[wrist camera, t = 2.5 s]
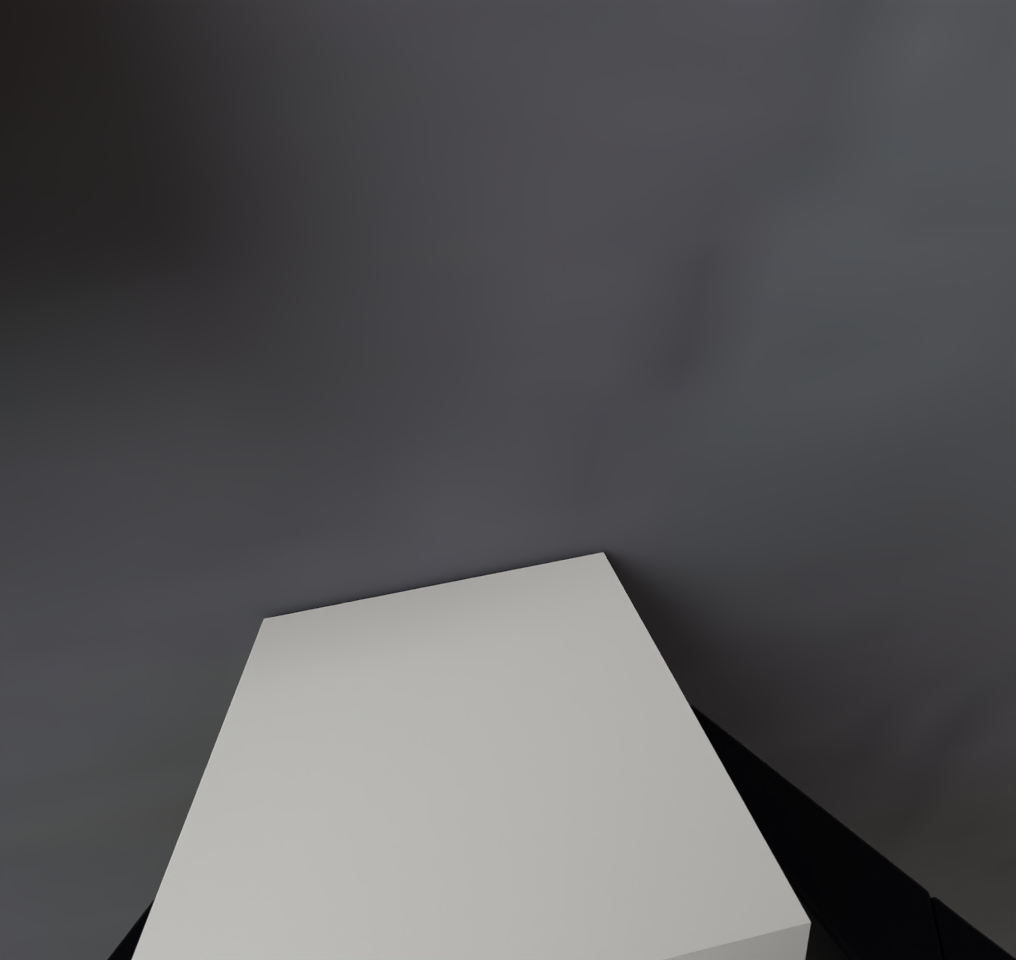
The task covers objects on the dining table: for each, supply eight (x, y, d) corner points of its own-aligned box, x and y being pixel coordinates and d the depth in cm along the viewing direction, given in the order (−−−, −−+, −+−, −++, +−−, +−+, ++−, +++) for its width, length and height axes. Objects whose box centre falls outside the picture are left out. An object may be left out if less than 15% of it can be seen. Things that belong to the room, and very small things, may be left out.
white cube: (620, 778, 11) (768, 1187, 6) (351, 839, 10) (299, 1320, 6) (603, 552, 9) (811, 922, 4) (263, 618, 8) (74, 1107, 4)
